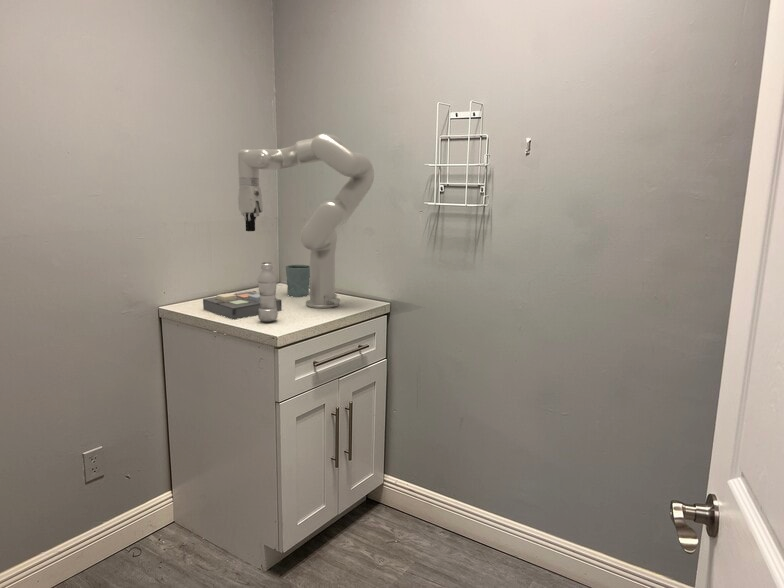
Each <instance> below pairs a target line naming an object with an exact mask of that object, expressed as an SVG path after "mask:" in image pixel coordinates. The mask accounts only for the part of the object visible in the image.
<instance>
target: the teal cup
mask: <svg viewBox="0 0 784 588" xmlns="http://www.w3.org/2000/svg"><path fill="white" fill-rule="evenodd" d="M285 274H286V275H285V276H286V285H287V286H286V287H287V296H288V295H289V296H288V297H291V296H293V297H292V298H303V296H305V297H308V296H309V295H310V265H308V264H307V265H306V264H289V265H286V266H285ZM307 295H308V296H307Z"/></svg>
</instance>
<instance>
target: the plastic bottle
mask: <svg viewBox="0 0 784 588" xmlns="http://www.w3.org/2000/svg"><path fill="white" fill-rule="evenodd" d="M260 269H261V270H260V272H259V274H258V276H257V279H256V280H257V286H258V287H257V288H258V292H259V293H258V294H260V301H259V310H258V315H257V317H258V319H259V321H260V322H264V323H271V322H275V321H277V318H278V315H279V314H278V313H279V311H277V307H276V299H277V295H276V293H277V285H278V284H277V283H278V277H277V275H276V273H275V271H274V270H273V269H274V267H273V262H271V261H269V262H268V261H267V262H264V261H263V262H261V266H260Z"/></svg>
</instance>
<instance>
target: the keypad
mask: <svg viewBox="0 0 784 588" xmlns="http://www.w3.org/2000/svg"><path fill="white" fill-rule="evenodd" d="M232 294H233V295H241V294H251V295H254V294H258V293H256V292H254V291H246V292H240V293H239V292H238V293H232ZM237 300H243V301H247V302H249V303H247V304H242V305H233V304H230V303H229V302H231V301H237ZM231 301H225V302H223V301H220V300H217V296H214V297H208V298H203V299H202V305H203V307H202V308H203V311H206V312H209V313H213V314H215V315H219V316H221V315H222V316H221V317H224V316H225V318H227V317H228V318H227V319H230V318H232V319H231V320H233V319H234V320H238V319H237V318H240V319H244V318H243V317H245V318H249V317H248V316H250V317H254V315H255V316H258V310H259V302H254V301H250V300H248V298H244V299H243V298H239V297H236V300H231ZM276 307H277V311H278V312H281V311H282V310H283V309H282V307H283V306H282V299H281V298H276Z"/></svg>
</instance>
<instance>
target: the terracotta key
mask: <svg viewBox="0 0 784 588" xmlns="http://www.w3.org/2000/svg"><path fill="white" fill-rule="evenodd" d="M248 295H251V294H241V295H236V297H239V298H243V299H244V298H248Z"/></svg>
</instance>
